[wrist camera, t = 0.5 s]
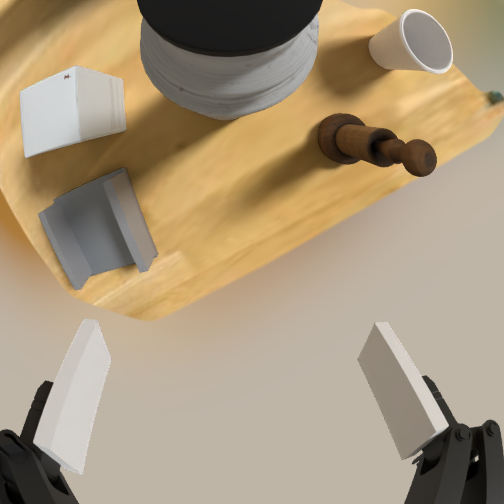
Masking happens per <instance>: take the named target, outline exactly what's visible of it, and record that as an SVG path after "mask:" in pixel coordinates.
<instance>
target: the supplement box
mask: <svg viewBox="0 0 504 504" xmlns="http://www.w3.org/2000/svg"><path fill="white" fill-rule="evenodd" d="M20 110H21V126H22V137H23V146H24V154H25V158H28V157H31V156H35V155H38V154H41V153H45V152H48V151H52V150H55V149H59V148H62V147H65V146H69V145H72V144H76V143H80V142H84V141H88V140H92V139H96V138H100V137H104V136H108V135H112V134H116V133H120V132H124V131H126V130H127V129H126V117H125V104H124V87H123V79H120V78H117V77H114V76H111V75H108V74H105V73H102V72H98V71H95V70H91V69H88V68H84V67H81V66H77V65H76V66H73V67H71V68H69V69H66V70H64V71H62V72H59V73H57V74H55V75H53V76H50V77H48V78H46V79H44V80H42V81H39V82H37V83H35V84H33V85H31V86H29V87H27V88H25V89H24V90H22V91H20Z"/></svg>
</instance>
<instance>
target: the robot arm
mask: <svg viewBox="0 0 504 504" xmlns="http://www.w3.org/2000/svg"><path fill="white" fill-rule="evenodd" d="M358 362H359V364H360V366H361V368H362V370H363V372H364V374H365V376H366V379H367V381H368V383H369V385H370V387H371V389H372V392H373V394H374V396H375V398H376V400H377V403H378V405H379V407H380V409H381V412H382V414H383V416H384V419H385V421H386V423H387V425H388V428H389V430H390V433H391V435H392V437H393V440H394V442H395V444H396V447H397V449H398V452H399V454H400V457H401V459H402V460H404V459H406V458H409V457H411V456H414V455H415V454H417V453H418V452H419V451H420V450H422V451H423V453H422V454H421V455H420V456H418V457H417V458H416V459H415V460H414V461H413V462H412V464H415V463H416V462H418V461H419V462H418V463H417V469H416V473H415V476H414V479H413V481H412V485H411V487H410V490H409V492H408V495H407V498H406V500H405V503H404V504H504V456H503V446H502V439H501V432H500V428H499V425H498V424H497V423H496V422H495V421H494V420H487V421H486V422H485V423H484V424H483V425H482V426H479V427H473V428H469V427H468V426H467V425H465V424H458V423H457V421H456V420H455V418H454V417H453V415H452V413H451V411H450V409H449V407H448V406H447V404H446V402H445V400H444V399H443V398H442V395H441V393H440V392H438V391H439V390H438V388H437V387H436V385H435V383H434V382H433V381H432V380H431V379H430V378H429V377H427V376H421V375H420V373H419V371H418V370H417V368H416V367H415V365H414V363H413V362H412V360H411V358H410V357H409V355H408V354H407V352H406V350H405V349H404V347H403V346H402V344H401V343H400V341H399V339H398V338H397V336H396V335H395V333H394V332H393V330H392V329H391V327H390V326H389V324H388V323H387V322H378V323H374V326H373V328H372V330H371V332H370V335H369V337H368V339H367V341H366V343H365V345H364V347H363V349H362V351H361V353H360V355H359V357H358ZM110 363H111V357H110V354H109V352H108V349H107V346H106V343H105V341H104V338H103V335H102V332H101V329H100V326H99V322H98V320H92V319H83V322H82V323H81V325H80V327H79V329H78V331H77V333H76V335H75V337H74V339H73V341H72V343H71V345H70V348H69V350H68V352H67V354H66V356H65V358H64V361H63V363H62V365H61V367H60V370H59V372H58V374H57V377H56V379H55V381H54V383H53V382H49V381H45V382H44V383H43V384H42V385H41V386H40V387H39V388H38V390H37V392H36V395H35V397H34V401H33V402H32V405H31V409H30V410H29V413H28V416H27V418H26V421H25V424H24V427H23V430H22V433H21V435H20V437H19V436H17V435H16V434H15V433H14V432H13V431H11V430H8V429H6V430H2V431H0V504H79V503H78V501H77V500H76V498H75V496H74V495H73V493H72V491H71V489H70V488H69V486H68V484H67V482H66V480H65V478H64V477H63V475H62V473H61V472H60V466H62V467H64V468H65V469H66V470H69V471H72V472H75V473H78V474H81V475H83V470H84V464H85V459H86V454H87V449H88V444H89V439H90V435H91V431H92V427H93V423H94V418H95V414H96V411H97V407H98V404H99V400H100V396H101V393H102V389H103V386H104V382H105V379H106V376H107V373H108V369H109V366H110ZM476 456H478V458H479V460H478V461H475V457H476Z"/></svg>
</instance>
